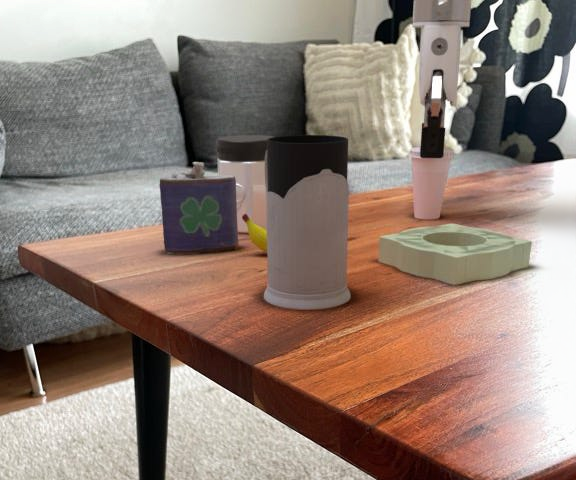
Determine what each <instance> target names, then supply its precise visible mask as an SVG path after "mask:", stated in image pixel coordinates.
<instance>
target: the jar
mask: <svg viewBox="0 0 576 480" xmlns="http://www.w3.org/2000/svg"><path fill="white" fill-rule="evenodd" d="M272 137H273V136H272V135H264V134H263V135H262V134H238V135H226V136H220V137H217V138H216V161H217V175H233V176H235V178H236V179H235V180H236V201H237V226H238V234H249V232H248V226H247V224H246V222H245V221H244V220H243V219H242V216H243V215H244V214H247V215H248V217H249V219H250V220H251V221H252V222H253V223H254V224H256V225H258V226H260V227H262V228H263V229H265V230H267V214H266V186H265V170H264V166H265V155H266V151H267V139H268V138H272Z"/></svg>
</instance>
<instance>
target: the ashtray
mask: <svg viewBox="0 0 576 480" xmlns="http://www.w3.org/2000/svg"><path fill="white" fill-rule="evenodd" d="M378 237H379V240H378V258H377V259H378V260H377V262H378V263H381V264H384V265H388V266H392V267H393V268H397V269H398V270H399V271H401V272H404V273H407V274H410V275H412V276H416V277H419V278H425V279H426V278H427V279H432V280H436V281H439V282H443V283H446V284H449V285H452V286H458V285H463V284H466V283H470V282H475V281H485V280H487V281H488V280H492V279H496V278H500V277H505V276H508V274H510V273H511V272H515V271H519V270H522V269H526V268H529V265H530V257H531V253H532V243H533V241H532V240H528V239H524V238H520V237H515V236H510V235H509V234H506V233H503V232H500V231H496V230H490V229H487V228H478V227H470V226H466V225H461V224H457V223H451V222H450V223H446V224H440V225H435V226H420V227H414V228H410V229H409V228H408V229H404V230H402V231H400V232H395V233H391V234H385V235H380V236H378Z"/></svg>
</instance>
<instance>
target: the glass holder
mask: <svg viewBox="0 0 576 480" xmlns="http://www.w3.org/2000/svg"><path fill="white" fill-rule="evenodd" d="M348 165H349V138H348V137H344V136H339V135H324V134H295V135H294V134H293V135H280V136H272V138H268V139H267V151H266V155H265V166H264V170H265V186H266V214H267V252H266V253H267V254H266V255H267V256H266V257H267V258H266V260H267V285H266V288H265V290H264V293H263V299H264V301H266V302H267V303H269V304H271V305H273V306H276V307H278V308H279V307H280V308H283V309H289V310H290V309H291V310H302V311H304V310H305V311H306V310H307V311H310V310H312V311H314V310H324V309H325V310H326V309H330V308H335V307H339V306H341V305H344V304H346V303H347V302H349V301H350V300H351V297H352V296H351V291H350V289H349V288H348V283H347V280H348V279H347V275H348V244H349V243H348V242H349V240H348V239H349V203H350V202H349V200H350V189H349V183H348V172H349V171H348V170H349V169H348V167H349V166H348Z"/></svg>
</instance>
